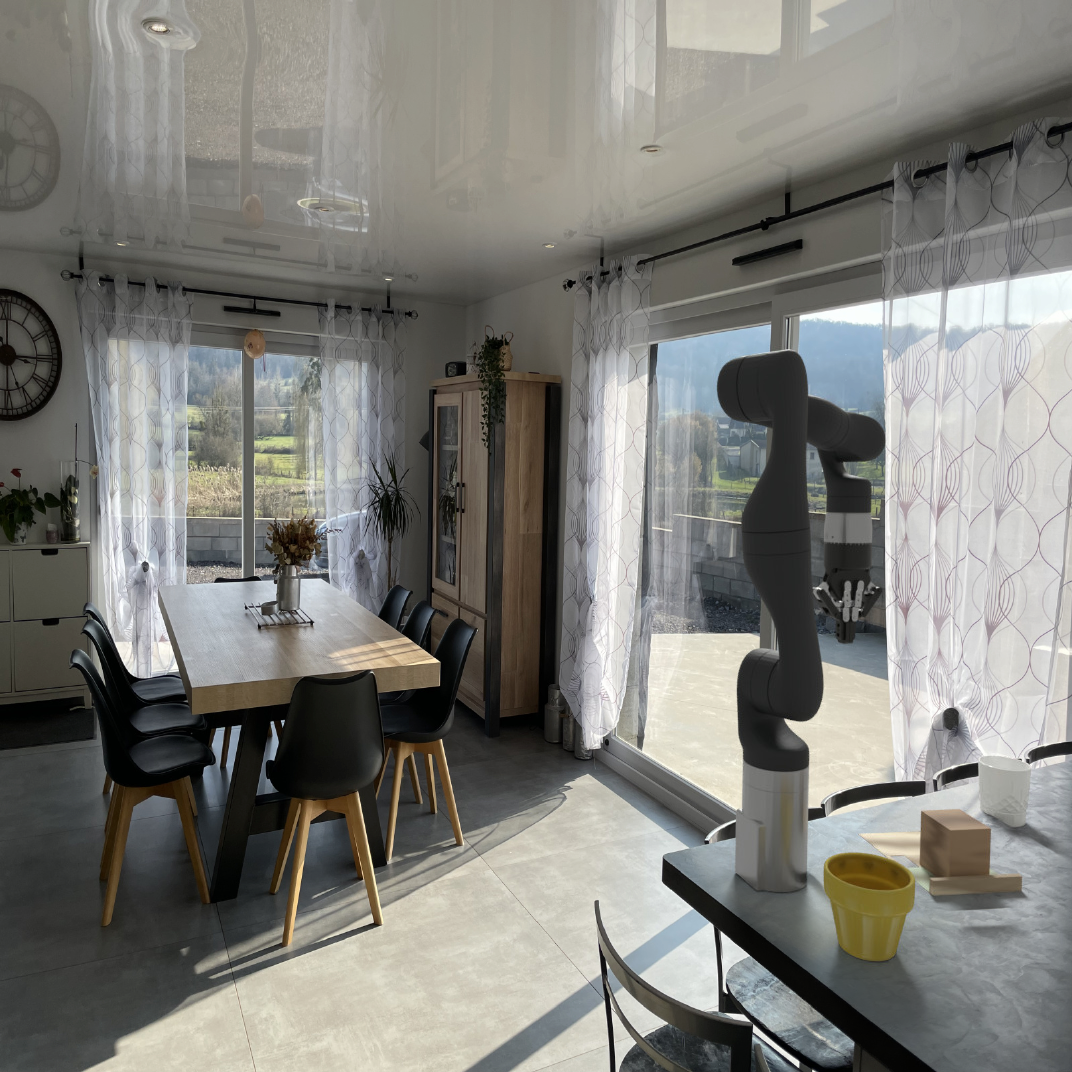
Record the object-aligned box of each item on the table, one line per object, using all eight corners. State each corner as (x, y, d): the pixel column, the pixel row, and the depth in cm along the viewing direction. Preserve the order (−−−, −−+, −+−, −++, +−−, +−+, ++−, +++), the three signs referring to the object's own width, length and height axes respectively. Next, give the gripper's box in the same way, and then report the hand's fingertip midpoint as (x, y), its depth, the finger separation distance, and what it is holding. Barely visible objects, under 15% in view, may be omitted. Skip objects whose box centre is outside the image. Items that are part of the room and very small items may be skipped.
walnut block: (919, 863, 119) (921, 810, 119) (957, 862, 120) (959, 809, 119) (948, 886, 112) (950, 830, 112) (989, 884, 113) (991, 828, 112)
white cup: (1039, 829, 135) (1041, 771, 135) (991, 829, 135) (994, 770, 135) (1012, 811, 143) (1014, 755, 143) (967, 810, 143) (969, 755, 143)
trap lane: (858, 843, 130) (858, 821, 130) (934, 839, 131) (935, 818, 131) (932, 905, 110) (933, 880, 110) (1021, 901, 111) (1022, 876, 111)
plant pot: (872, 981, 93) (874, 898, 92) (804, 937, 102) (805, 861, 101) (931, 957, 98) (934, 878, 97) (861, 917, 107) (863, 845, 106)
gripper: (827, 541, 129) (825, 649, 130) (896, 540, 133) (894, 645, 134) (799, 539, 137) (797, 640, 137) (866, 538, 140) (863, 637, 141)
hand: (845, 642), depth 136 cm, fingers closed
